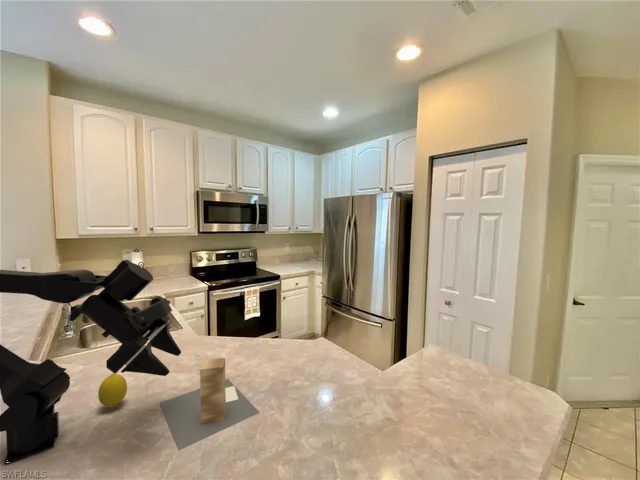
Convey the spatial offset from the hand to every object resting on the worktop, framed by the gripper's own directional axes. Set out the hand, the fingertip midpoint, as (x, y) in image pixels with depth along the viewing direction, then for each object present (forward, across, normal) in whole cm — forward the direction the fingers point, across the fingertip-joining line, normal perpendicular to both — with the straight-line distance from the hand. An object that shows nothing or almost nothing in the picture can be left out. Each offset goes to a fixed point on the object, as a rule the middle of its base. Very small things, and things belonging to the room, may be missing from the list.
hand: (174, 363), depth 60 cm
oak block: (+15, 0, +4) cm, 15 cm away
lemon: (-2, +10, +21) cm, 24 cm away
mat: (+14, +4, +5) cm, 15 cm away
